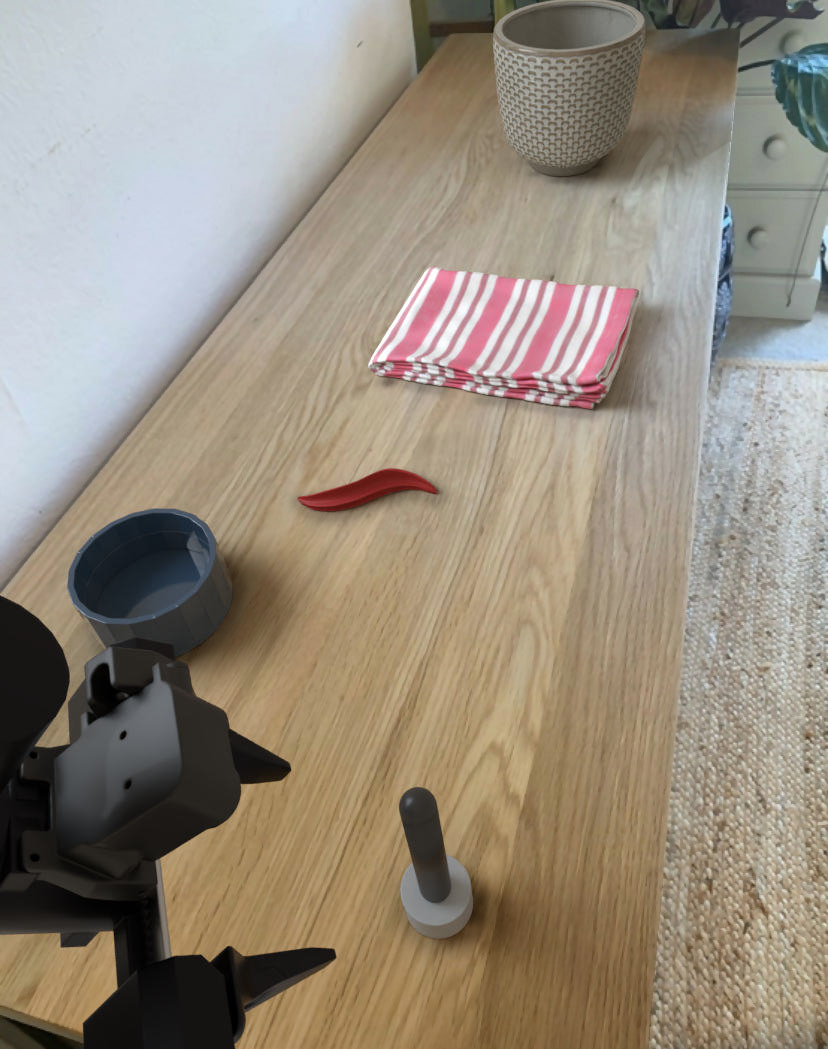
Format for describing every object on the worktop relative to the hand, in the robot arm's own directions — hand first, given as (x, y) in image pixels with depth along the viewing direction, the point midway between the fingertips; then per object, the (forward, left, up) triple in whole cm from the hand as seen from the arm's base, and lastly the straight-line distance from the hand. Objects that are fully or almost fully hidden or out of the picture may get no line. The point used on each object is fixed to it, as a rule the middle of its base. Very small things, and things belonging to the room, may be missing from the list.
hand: (307, 858), depth 40 cm
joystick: (+5, +2, -12) cm, 13 cm away
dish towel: (+7, +56, -12) cm, 58 cm away
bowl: (-18, +23, -12) cm, 32 cm away
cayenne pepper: (-4, +35, -12) cm, 38 cm away
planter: (+13, +94, -12) cm, 96 cm away
